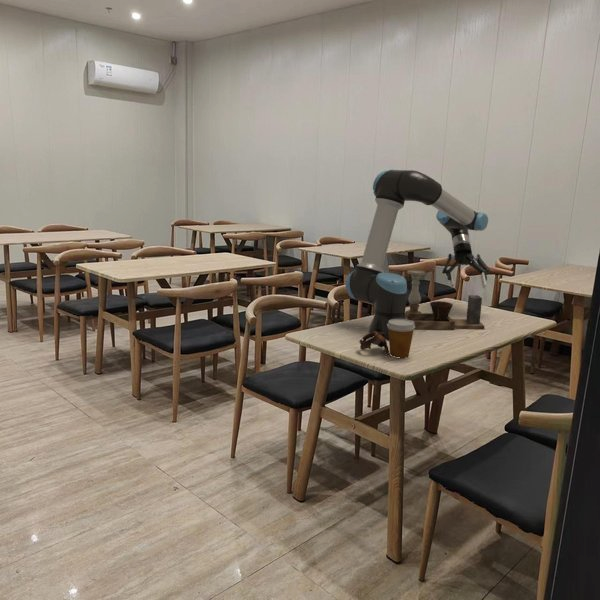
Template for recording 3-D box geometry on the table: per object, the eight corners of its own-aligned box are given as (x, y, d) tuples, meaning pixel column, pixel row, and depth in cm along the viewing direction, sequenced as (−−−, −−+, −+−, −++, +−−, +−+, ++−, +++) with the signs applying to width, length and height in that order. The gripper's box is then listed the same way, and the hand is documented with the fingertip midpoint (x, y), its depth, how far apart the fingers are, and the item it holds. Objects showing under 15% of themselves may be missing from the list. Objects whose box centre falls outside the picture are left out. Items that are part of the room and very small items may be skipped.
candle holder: (400, 314, 242) (402, 269, 237) (418, 313, 243) (421, 269, 239) (408, 319, 233) (410, 273, 229) (427, 318, 235) (430, 272, 230)
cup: (457, 326, 221) (456, 302, 219) (436, 330, 220) (434, 306, 218) (448, 321, 230) (447, 298, 228) (428, 324, 229) (426, 302, 227)
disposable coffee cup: (418, 355, 187) (420, 321, 185) (404, 362, 180) (406, 327, 178) (394, 349, 193) (396, 316, 191) (380, 355, 186) (381, 322, 184)
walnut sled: (413, 328, 219) (415, 299, 216) (407, 319, 232) (408, 291, 230) (485, 330, 219) (488, 300, 216) (475, 320, 232) (477, 293, 229)
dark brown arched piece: (386, 359, 184) (374, 339, 183) (363, 366, 190) (352, 346, 188) (397, 342, 193) (386, 322, 192) (375, 348, 199) (364, 329, 198)
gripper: (487, 252, 246) (495, 291, 235) (432, 251, 247) (437, 290, 235) (492, 242, 240) (500, 282, 229) (435, 241, 240) (441, 280, 229)
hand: (468, 286), depth 232 cm, fingers open, 13 cm apart
